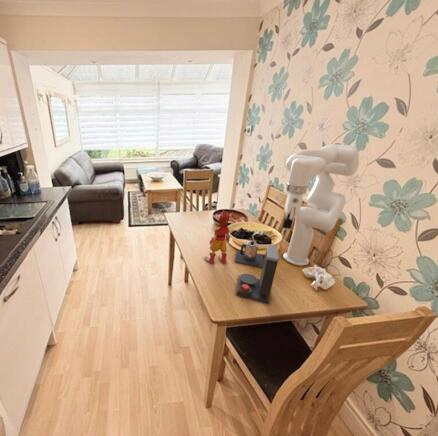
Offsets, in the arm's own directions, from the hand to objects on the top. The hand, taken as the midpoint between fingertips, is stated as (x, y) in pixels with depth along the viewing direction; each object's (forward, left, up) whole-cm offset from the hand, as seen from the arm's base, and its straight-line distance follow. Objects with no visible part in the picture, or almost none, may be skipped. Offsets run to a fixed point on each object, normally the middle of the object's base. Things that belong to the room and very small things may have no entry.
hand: (286, 227), depth 108 cm
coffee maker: (+12, -9, -29) cm, 33 cm away
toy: (-6, -29, -29) cm, 42 cm away
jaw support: (-5, +20, -29) cm, 36 cm away
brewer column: (+11, -9, -26) cm, 30 cm away
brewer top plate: (-15, -12, -29) cm, 35 cm away
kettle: (-14, -13, -29) cm, 34 cm away
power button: (+17, -13, -26) cm, 34 cm away
